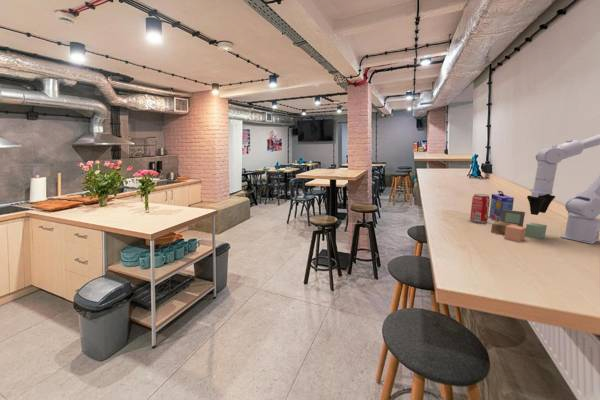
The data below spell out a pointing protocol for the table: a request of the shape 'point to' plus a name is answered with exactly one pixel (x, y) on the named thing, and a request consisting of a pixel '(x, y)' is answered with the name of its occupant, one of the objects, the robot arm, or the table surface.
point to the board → (513, 217)
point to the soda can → (480, 208)
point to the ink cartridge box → (500, 205)
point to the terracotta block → (515, 233)
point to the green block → (535, 230)
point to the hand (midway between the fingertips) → (538, 213)
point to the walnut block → (500, 227)
